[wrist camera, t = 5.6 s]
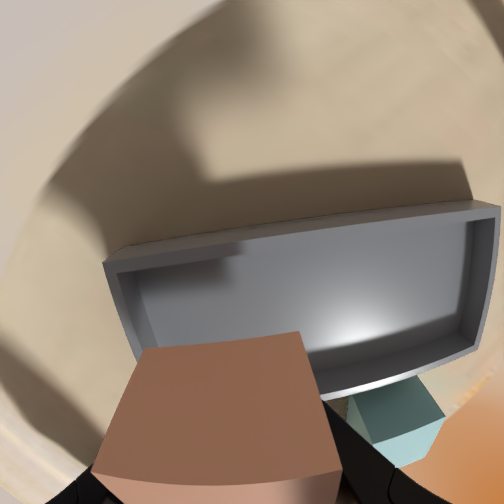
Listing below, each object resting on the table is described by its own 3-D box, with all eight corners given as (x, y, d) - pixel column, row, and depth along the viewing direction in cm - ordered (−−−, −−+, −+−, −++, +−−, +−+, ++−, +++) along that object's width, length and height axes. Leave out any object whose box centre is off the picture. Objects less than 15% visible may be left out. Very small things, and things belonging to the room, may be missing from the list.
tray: (170, 389, 14) (163, 416, 12) (122, 247, 12) (102, 262, 10) (458, 332, 14) (477, 349, 12) (474, 199, 12) (500, 206, 10)
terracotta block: (185, 438, 9) (170, 538, 5) (144, 347, 8) (90, 472, 3) (305, 427, 9) (327, 531, 5) (299, 330, 8) (342, 468, 3)
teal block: (344, 430, 16) (360, 480, 12) (349, 388, 15) (372, 444, 11) (401, 414, 16) (424, 457, 12) (413, 370, 15) (445, 416, 11)
